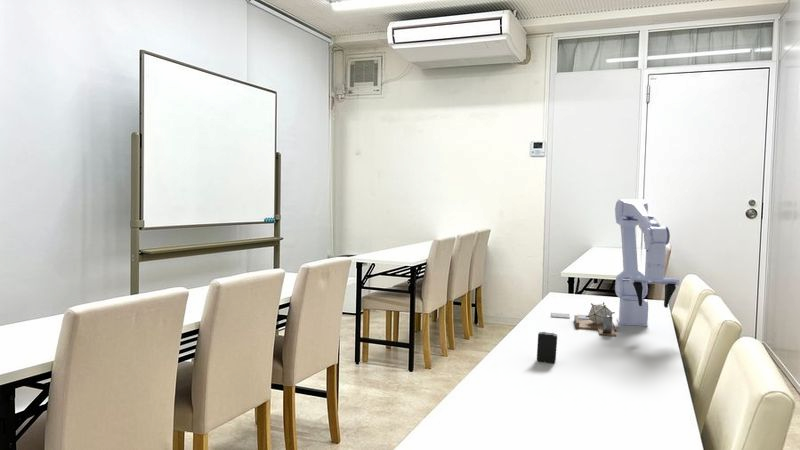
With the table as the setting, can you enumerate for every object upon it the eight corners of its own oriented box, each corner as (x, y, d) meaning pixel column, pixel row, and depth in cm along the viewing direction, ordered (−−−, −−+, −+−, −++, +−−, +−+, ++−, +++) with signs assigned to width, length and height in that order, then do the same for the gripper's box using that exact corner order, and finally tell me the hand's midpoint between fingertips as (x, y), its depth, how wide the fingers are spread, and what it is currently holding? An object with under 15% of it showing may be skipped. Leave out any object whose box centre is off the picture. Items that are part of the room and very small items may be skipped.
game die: (600, 335, 211) (607, 310, 215) (614, 331, 203) (622, 305, 207) (578, 323, 210) (586, 298, 214) (591, 319, 203) (600, 293, 207)
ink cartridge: (555, 361, 167) (557, 333, 166) (554, 364, 165) (556, 335, 164) (537, 359, 169) (539, 331, 168) (536, 361, 167) (538, 333, 166)
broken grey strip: (595, 317, 223) (595, 315, 223) (597, 320, 217) (597, 319, 217) (551, 314, 227) (551, 312, 227) (551, 317, 221) (551, 316, 221)
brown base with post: (612, 323, 213) (613, 306, 213) (619, 336, 195) (620, 318, 194) (574, 320, 216) (575, 304, 216) (577, 333, 198) (577, 315, 197)
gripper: (632, 264, 190) (630, 307, 191) (682, 267, 187) (680, 310, 188) (629, 261, 197) (627, 302, 198) (677, 264, 194) (675, 305, 195)
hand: (652, 306), depth 194 cm, fingers open, 7 cm apart
